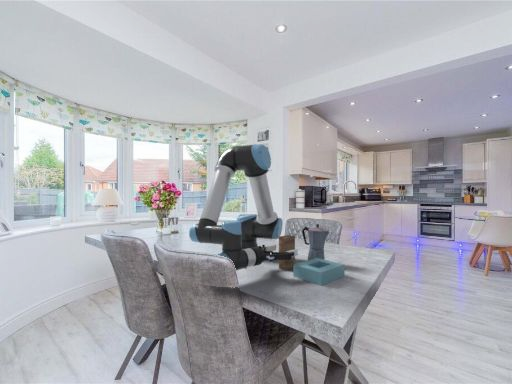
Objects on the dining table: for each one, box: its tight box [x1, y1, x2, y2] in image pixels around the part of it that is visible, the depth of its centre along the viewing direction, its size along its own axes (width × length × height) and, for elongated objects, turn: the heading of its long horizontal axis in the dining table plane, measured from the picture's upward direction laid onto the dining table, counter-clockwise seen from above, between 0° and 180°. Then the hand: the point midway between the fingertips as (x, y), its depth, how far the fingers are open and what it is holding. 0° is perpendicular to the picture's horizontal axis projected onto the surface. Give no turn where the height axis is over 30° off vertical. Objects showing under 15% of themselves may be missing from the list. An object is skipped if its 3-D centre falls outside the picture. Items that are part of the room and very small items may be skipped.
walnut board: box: [278, 234, 296, 271], centre depth 116 cm, size 4×7×15 cm, turn 131°
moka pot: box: [301, 223, 330, 261], centre depth 124 cm, size 10×15×20 cm, turn 53°
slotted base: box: [292, 258, 345, 286], centre depth 104 cm, size 14×17×5 cm
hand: (285, 249), depth 115 cm, fingers open, 13 cm apart
